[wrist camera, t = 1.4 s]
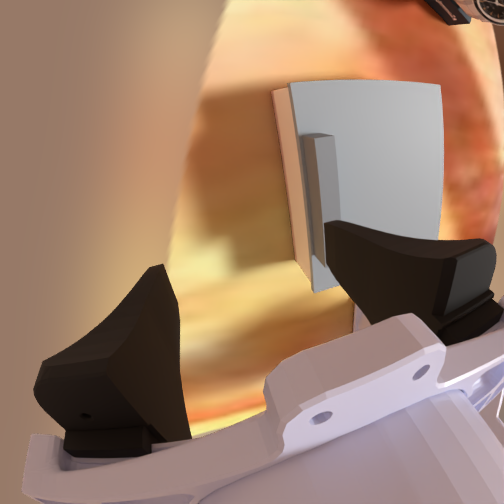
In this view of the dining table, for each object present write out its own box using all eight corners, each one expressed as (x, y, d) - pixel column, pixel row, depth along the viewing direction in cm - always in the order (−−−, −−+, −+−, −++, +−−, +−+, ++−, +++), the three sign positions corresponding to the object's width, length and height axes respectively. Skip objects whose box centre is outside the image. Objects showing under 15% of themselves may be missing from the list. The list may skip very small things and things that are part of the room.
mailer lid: (432, 248, 23) (448, 260, 21) (311, 289, 22) (323, 307, 20) (435, 84, 16) (457, 86, 14) (287, 83, 15) (301, 79, 13)
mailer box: (404, 228, 26) (429, 246, 23) (294, 259, 25) (312, 284, 22) (400, 86, 20) (431, 86, 16) (270, 91, 18) (289, 86, 15)
